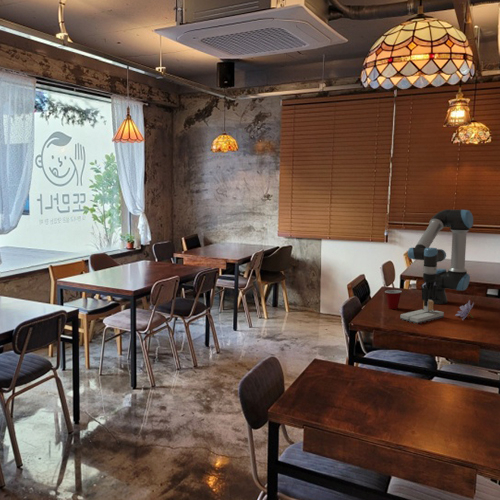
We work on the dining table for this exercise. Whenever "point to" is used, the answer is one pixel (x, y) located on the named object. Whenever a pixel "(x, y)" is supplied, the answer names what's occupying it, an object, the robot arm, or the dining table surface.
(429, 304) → the fader knob
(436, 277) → the robot arm
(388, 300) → the plastic cup
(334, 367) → the dining table surface
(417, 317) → the fader console
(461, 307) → the water lily
